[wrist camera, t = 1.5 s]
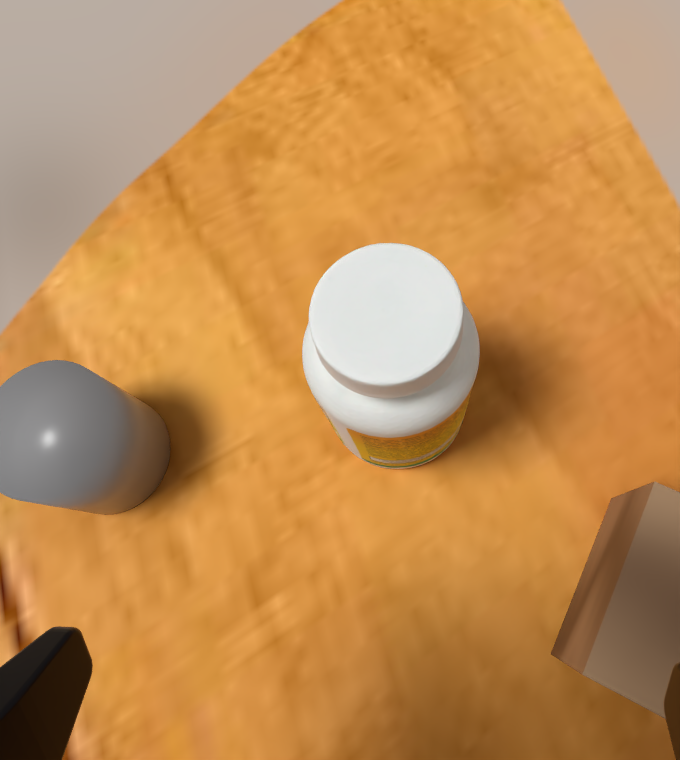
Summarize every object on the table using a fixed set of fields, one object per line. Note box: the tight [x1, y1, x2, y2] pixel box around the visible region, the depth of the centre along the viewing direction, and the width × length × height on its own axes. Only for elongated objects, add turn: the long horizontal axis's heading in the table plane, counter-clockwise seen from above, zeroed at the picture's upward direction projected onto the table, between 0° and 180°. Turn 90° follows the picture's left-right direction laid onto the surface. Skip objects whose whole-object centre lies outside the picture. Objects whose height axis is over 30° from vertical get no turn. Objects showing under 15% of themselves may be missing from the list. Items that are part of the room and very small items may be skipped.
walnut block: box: [551, 482, 680, 719], centre depth 19 cm, size 6×4×4 cm, turn 153°
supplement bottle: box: [302, 243, 480, 469], centre depth 20 cm, size 5×5×10 cm
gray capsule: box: [0, 360, 171, 515], centre depth 23 cm, size 5×5×5 cm
